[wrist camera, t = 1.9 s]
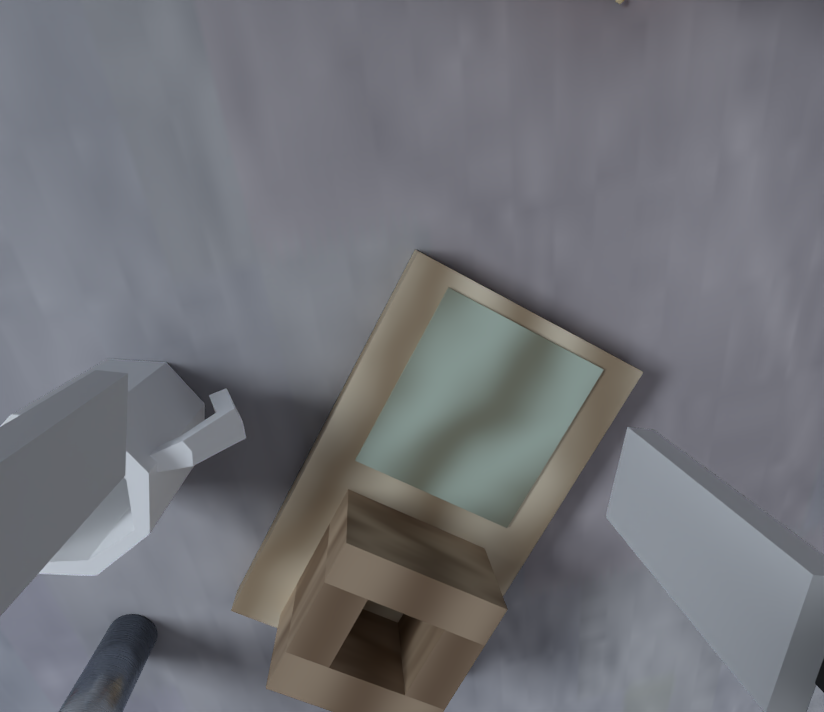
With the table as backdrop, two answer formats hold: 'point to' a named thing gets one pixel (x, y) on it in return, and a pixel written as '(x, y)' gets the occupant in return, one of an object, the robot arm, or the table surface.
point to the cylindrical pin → (113, 667)
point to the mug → (146, 460)
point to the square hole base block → (426, 494)
